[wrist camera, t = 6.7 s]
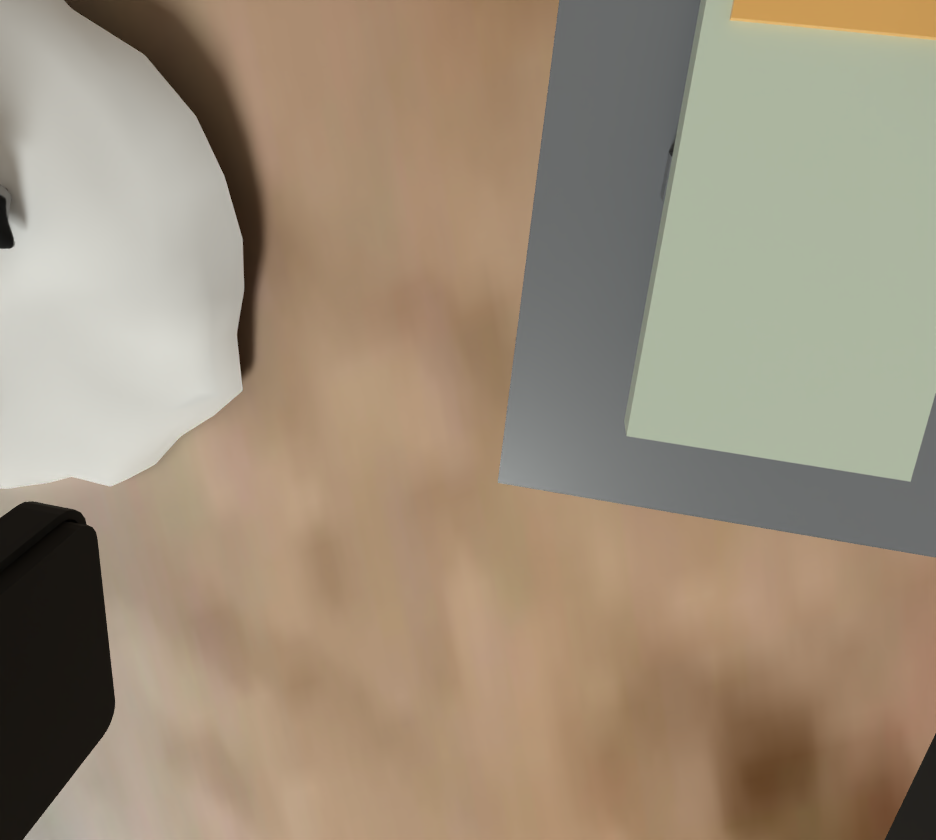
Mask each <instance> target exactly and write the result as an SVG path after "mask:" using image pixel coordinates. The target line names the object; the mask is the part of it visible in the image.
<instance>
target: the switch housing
mask: <svg viewBox="0 0 936 840" xmlns="http://www.w3.org/2000/svg"><path fill="white" fill-rule="evenodd" d="M700 2H701V0H559V8H558V15H557V23H556V31H555V39H554V47H553V55H552V62H551V70H550V78H549V86H548V94H547V102H546V109H545V117H544V125H543V133H542V141H541V149H540V156H539V164H538V172H537V180H536V188H535V196H534V203H533V211H532V219H531V227H530V235H529V243H528V250H527V258H526V266H525V274H524V282H523V290H522V297H521V305H520V313H519V321H518V329H517V337H516V344H515V352H514V360H513V368H512V376H511V384H510V391H509V399H508V407H507V415H506V423H505V431H504V438H503V446H502V454H501V462H500V470H499V478H498V483H503V484H509V485H514V486H520V487H526V488H532V489H538V490H544V491H550V492H555V493H561V494H567V495H573V496H579V497H585V498H591V499H596V500H602V501H608V502H614V503H620V504H626V505H632V506H637V507H643V508H649V509H655V510H661V511H667V512H673V513H678V514H684V515H690V516H696V517H702V518H708V519H714V520H719V521H725V522H731V523H737V524H743V525H749V526H755V527H760V528H766V529H772V530H778V531H784V532H790V533H796V534H801V535H807V536H813V537H819V538H825V539H831V540H837V541H842V542H848V543H854V544H860V545H866V546H872V547H878V548H883V549H889V550H895V551H901V552H907V553H913V554H919V555H924V556H930V557H936V394H935V397H934V401H933V404H932V408H931V411H930V415H929V418H928V422H927V425H926V429H925V432H924V436H923V439H922V443H921V446H920V450H919V453H918V457H917V461H916V464H915V468H914V471H913V475H912V478H911V482H909V481H903V480H897V479H891V478H884V477H878V476H872V475H866V474H859V473H853V472H847V471H841V470H834V469H828V468H822V467H816V466H810V465H803V464H797V463H791V462H785V461H778V460H772V459H766V458H760V457H753V456H747V455H741V454H735V453H729V452H722V451H716V450H710V449H704V448H697V447H691V446H685V445H679V444H672V443H666V442H660V441H654V440H648V439H641V438H635V437H629V436H626V430H625V423H624V420H625V414H626V409H627V403H628V398H629V392H630V387H631V381H632V376H633V370H634V365H635V359H636V354H637V348H638V343H639V337H640V332H641V326H642V321H643V315H644V310H645V304H646V299H647V293H648V288H649V282H650V277H651V271H652V266H653V260H654V255H655V249H656V244H657V238H658V233H659V227H660V222H661V216H662V211H663V205H664V200H665V194H666V189H667V183H668V178H669V172H670V167H671V161H672V156H673V150H674V145H675V139H676V134H677V128H678V123H679V117H680V112H681V106H682V101H683V95H684V90H685V84H686V79H687V73H688V68H689V62H690V57H691V51H692V46H693V40H694V35H695V29H696V24H697V18H698V13H699V7H700Z"/></svg>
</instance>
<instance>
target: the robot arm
mask: <svg viewBox="0 0 936 840" xmlns="http://www.w3.org/2000/svg"><path fill="white" fill-rule="evenodd" d="M114 709H115V696H114V687H113V677H112V668H111V659H110V650H109V641H108V632H107V623H106V613H105V604H104V595H103V586H102V577H101V568H100V558H99V549H98V540H97V535H96V532H95V530H94V529H93V527H90V526H88V525H86V521H85V518H84V517H83V515H82V514H81V513H80V512H78V511H76V510H73V509H68V508H63V507H58V506H53V505H48V504H43V503H38V502H24V503H22V504H20V505H18V506H16V507H15V508H13V509H12V510H11V511H9V512H8V513H6V514H5V515H4V516H2V517H1V518H0V840H23V839H24V837H25V836H26V835H27V834H28V832H29V831H30V830H31V828H32V827H33V826H34V825H35V823H36V822H37V821H38V819H39V818H40V817H41V816H42V814H43V813H44V812H45V810H46V809H47V808H48V806H49V805H50V804H51V803H52V801H53V800H54V799H55V797H56V796H57V795H58V794H59V792H60V791H61V790H62V788H63V787H64V786H65V785H66V783H67V782H68V781H69V779H70V778H71V777H72V776H73V774H74V773H75V772H76V770H77V769H78V768H79V766H80V765H81V764H82V763H83V761H84V760H85V759H86V757H87V756H88V755H89V754H90V752H91V751H92V750H93V748H94V747H95V746H96V745H97V743H98V742H99V741H100V739H101V738H102V737H103V735H104V734H105V732H106V731H107V729H108V727H109V725H110V723H111V720H112V717H113V714H114ZM885 840H936V734H935V736H934V738H933V740H932V742H931V745H930V747H929V749H928V751H927V753H926V755H925V757H924V759H923V761H922V763H921V765H920V767H919V770H918V772H917V774H916V776H915V778H914V780H913V782H912V784H911V786H910V788H909V790H908V792H907V795H906V797H905V799H904V801H903V803H902V805H901V807H900V809H899V811H898V813H897V815H896V817H895V820H894V822H893V824H892V826H891V828H890V830H889V832H888V834H887V836H886V838H885Z"/></svg>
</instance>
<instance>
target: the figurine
mask: <svg viewBox="0 0 936 840" xmlns="http://www.w3.org/2000/svg"><path fill="white" fill-rule="evenodd" d="M243 294H244V266H243V239H242V235H241V232H240V228H239V225H238V221H237V218H236V214H235V211H234V207H233V204H232V200H231V197H230V193H229V190H228V186H227V183H226V180H225V176H224V174H223V172H222V170H221V168H220V166H219V164H218V162H217V159H216V157H215V155H214V153H213V151H212V149H211V147H210V145H209V143H208V140H207V138H206V136H205V134H204V132H203V130H202V128H201V126H200V124H199V121H198V119H197V117H196V116H195V114H194V113H193V112H192V111H191V110H190V108H189V107H188V106H187V105H186V104H185V102H184V101H183V100H182V99H181V98H180V96H179V95H178V94H177V93H176V92H175V91H174V89H173V88H172V87H171V86H170V85H169V83H168V82H167V81H166V80H165V79H164V77H163V76H162V75H161V74H160V73H159V71H158V70H157V69H156V68H155V67H154V65H153V64H152V63H151V62H150V61H149V59H148V58H147V57H146V56H145V55H144V54H143V53H141V52H139V51H138V50H136V49H135V48H133V47H131V46H130V45H128V44H127V43H125V42H123V41H122V40H120V39H119V38H117V37H116V36H114V35H112V34H111V33H109V32H108V31H106V30H104V29H103V28H101V27H100V26H98V25H96V24H95V23H93V22H92V21H90V20H89V19H87V18H85V17H84V16H82V15H81V14H79V13H77V12H76V11H74V10H73V9H72V8H71V7H70V6H69V5H68V4H67V3H66V2H65V1H64V0H0V488H16V487H23V486H29V485H36V484H44V483H50V482H54V481H57V480H61V479H65V478H68V477H75V478H79V479H83V480H87V481H91V482H95V483H98V484H102V485H106V486H110V487H111V486H113V485H115V484H117V483H120V482H122V481H124V480H126V479H129V478H130V477H132V476H134V475H136V474H138V473H140V472H142V471H144V470H146V469H148V468H150V467H151V466H153V465H155V464H156V463H157V462H158V461H159V460H160V459H161V457H162V456H163V455H164V454H165V453H166V452H167V451H168V450H169V449H170V448H171V446H172V445H173V444H174V443H175V442H176V441H177V440H178V439H179V438H180V437H181V436H182V435H184V434H185V433H187V432H188V431H190V430H192V429H193V428H195V427H196V426H198V425H199V424H201V423H203V422H204V421H206V420H207V419H209V418H210V417H212V416H214V415H215V414H216V413H217V412H219V411H220V410H221V409H222V408H223V407H224V406H225V405H227V404H228V403H229V402H230V401H231V400H232V399H234V398H235V397H236V396H237V395H238V394H239V393H241V392H242V391H243V388H242V379H241V370H240V360H239V351H238V341H237V329H238V324H239V318H240V312H241V306H242V300H243Z"/></svg>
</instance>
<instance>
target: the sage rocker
mask: <svg viewBox="0 0 936 840" xmlns="http://www.w3.org/2000/svg"><path fill="white" fill-rule="evenodd" d="M935 394H936V0H701V2H700V7H699V13H698V18H697V24H696V29H695V35H694V40H693V46H692V51H691V57H690V62H689V68H688V73H687V79H686V84H685V90H684V95H683V101H682V106H681V112H680V117H679V123H678V128H677V134H676V139H675V145H674V150H673V156H672V161H671V167H670V172H669V178H668V183H667V189H666V194H665V200H664V205H663V211H662V216H661V222H660V227H659V233H658V238H657V244H656V249H655V255H654V260H653V266H652V271H651V277H650V282H649V288H648V293H647V299H646V304H645V310H644V315H643V321H642V326H641V332H640V337H639V343H638V348H637V354H636V359H635V365H634V370H633V376H632V381H631V387H630V392H629V398H628V403H627V409H626V414H625V420H624V423H625V430H626V436H629V437H635V438H641V439H648V440H654V441H660V442H666V443H672V444H679V445H685V446H691V447H697V448H704V449H710V450H716V451H722V452H729V453H735V454H741V455H747V456H753V457H760V458H766V459H772V460H778V461H785V462H791V463H797V464H803V465H810V466H816V467H822V468H828V469H834V470H841V471H847V472H853V473H859V474H866V475H872V476H878V477H884V478H891V479H897V480H903V481H909V482H911V478H912V475H913V471H914V468H915V464H916V461H917V457H918V453H919V450H920V446H921V443H922V439H923V436H924V432H925V429H926V425H927V422H928V418H929V415H930V411H931V408H932V404H933V401H934V397H935Z"/></svg>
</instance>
